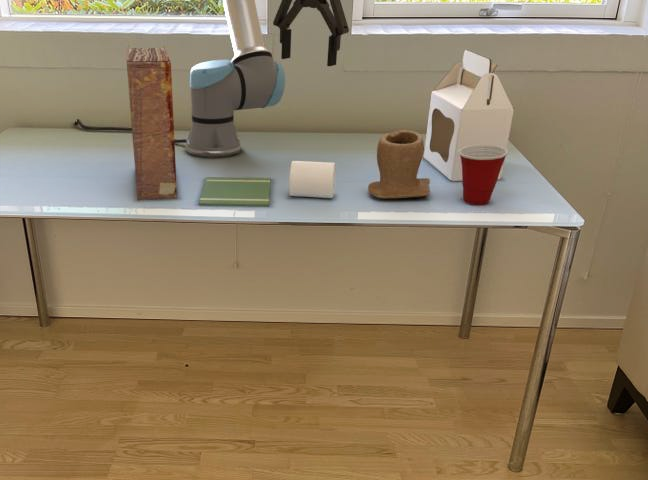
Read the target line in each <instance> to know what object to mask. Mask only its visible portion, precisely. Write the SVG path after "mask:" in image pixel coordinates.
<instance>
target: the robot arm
mask: <svg viewBox="0 0 648 480" xmlns="http://www.w3.org/2000/svg"><path fill="white" fill-rule="evenodd" d="M292 2H293V0H281V2H280V4H279V6H278V9H277V11H276V14H275V17H274V19H273V22H272V24H273V27H278V28H279V44H281V57H280V58H281V60H286V59H291V53H292V51H291V50H292V29H291V27H290V26H291V25H292V24H293V22H294V20H295V19H296V17H297V16H299V14H300V12H301V11H302V9H303V8H311V9H316V10H317V11H318V12H319V14H320V15H321V16H322V18H323V20H324V22H325V24H326V26H327V28H328V29H329V31H330V33H331V35H329V36H328V47H327V62H326V67H332V66H337V59H338V51H340V50H341V42H342V41H341V40H342V39H341V38H342V35H346V34H348V33H349V32H350V28H349V25H348V22H347V18H346V14H345V12H344V8H343V5H342V1H341V0H329V2H328V0H294V2H293V3H292ZM222 3H223V8H224V12H225V17H226V21H227V25H228V30H229V35H230V40H231V45H232V48H233V53H234V55H233V58H232V59H231V60H230V59H213V60H207V61H203V62H200V63H198V64H195V65H194V66H193V67H191V70H190V72H189V88H190V89H189V90H190V92H189V93H190V111H191V125H190V128H189V132H188V138H179V139H177V138H174V141H175V144H180V143H185V147H186V153H188V155H191V156H194V157H200V158H212V159H213V158H225V157H231V156H235V155H237V154H239V153H240V152H241V141H240V139H239V136H240V135H239V133H238V131H237V129H236V126H235V125H236V124H235V121H234V118H235V117H234V114H235V113H234V112H235V111H242V110H252V109H265V108H268V107H269V108H270V107H274V106H276V105H277V104H279V103H280V101H281V100H282V98H283V95H284V91H285V87H286V86H285V85H286V73H285V69H284V66H283V65H282V64H281V62H278V61H277V60H274V58H273V54H272V51H270V50H269V49H268V48H266V47H265V44H264V43H265V42H264V37H263V33H262V28H261V24H260V18H259V15H258V10H257V5H256V1H255V0H222ZM329 3H330V4H329ZM292 4H293V5H292ZM291 5H292V6H291ZM330 7H331V8H330ZM76 120H77V122H76ZM76 120H75V121H74V124H73V125H79V126H80V127H81V128H82V129H84V130H90V131H123V132H124V131H127V132H132V127H129V126H128V127H124V126H90V125H85V124H84V123H83V122H82V120H81V119H79V118H77V119H76Z"/></svg>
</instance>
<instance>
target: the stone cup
mask: <svg viewBox="0 0 648 480" xmlns="http://www.w3.org/2000/svg"><path fill="white" fill-rule="evenodd" d="M424 150H425V143H424V139H423V135H422V134H421V133H419V132H417V131H414V130H408V129H400V130H396V131H394V132H387V133H385V134H383V135H381V137H380V138H379V139H378V142H377V147H376V162H377V166H378V172H379V180H378V181H372V182H370V183H369V184H368V186H367V191H368V192H369V194H370V195H371V196H373V197H376V198H378V199H406V198H407V199H408V198H420V197H430V194H431V191H430V183H431V178H428V177H427V178H425V177H424V178H423V177H422V178H419V177H418V173H419V168H420V166H421V163H422V160H423V158H424Z"/></svg>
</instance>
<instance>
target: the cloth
mask: <svg viewBox="0 0 648 480" xmlns="http://www.w3.org/2000/svg"><path fill="white" fill-rule="evenodd" d="M271 179H272V178H271V177H235V176H234V177H232V176H231V177H229V176H227V177H225V176H224V177H223V176H206V179H205V182H204V185H203V188H202V192H201V195H200V198H199V201H198V206H225V207H226V206H231V207H234V206H235V207H237V206H238V207H269V206H270V198H271V197H270V196H271V182H272V181H271Z"/></svg>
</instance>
